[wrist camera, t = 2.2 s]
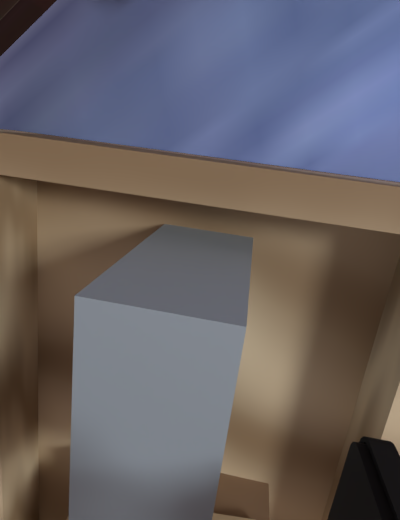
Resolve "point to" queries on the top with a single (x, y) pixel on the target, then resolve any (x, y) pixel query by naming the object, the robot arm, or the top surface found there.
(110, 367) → the grey rectangular block
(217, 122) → the top surface
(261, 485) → the tan flat block
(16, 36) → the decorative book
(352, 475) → the robot arm
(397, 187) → the tray
